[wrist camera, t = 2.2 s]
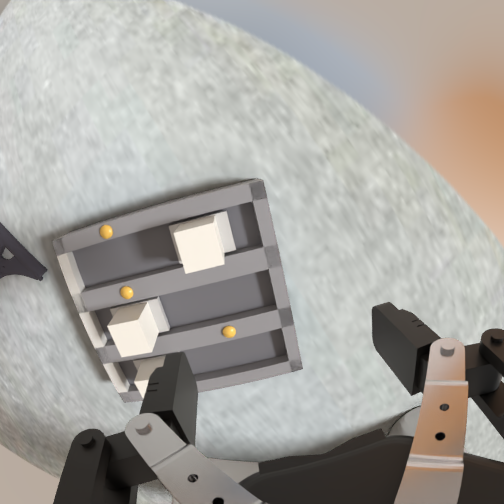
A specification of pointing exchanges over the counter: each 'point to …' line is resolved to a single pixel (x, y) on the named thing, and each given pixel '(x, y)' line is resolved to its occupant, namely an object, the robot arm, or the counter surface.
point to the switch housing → (188, 289)
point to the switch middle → (137, 325)
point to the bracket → (18, 258)
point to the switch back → (147, 370)
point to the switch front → (202, 241)
